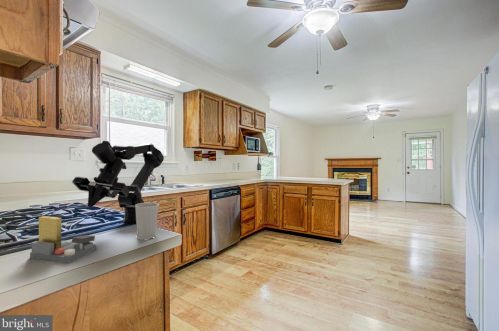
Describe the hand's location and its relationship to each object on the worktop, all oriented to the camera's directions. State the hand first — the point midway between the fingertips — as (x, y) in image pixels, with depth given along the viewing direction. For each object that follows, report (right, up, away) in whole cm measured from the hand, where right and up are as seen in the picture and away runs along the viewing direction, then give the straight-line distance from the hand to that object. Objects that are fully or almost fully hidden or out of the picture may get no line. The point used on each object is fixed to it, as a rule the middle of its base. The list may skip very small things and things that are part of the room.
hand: (89, 207), depth 85 cm
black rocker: (+5, -8, -10) cm, 14 cm away
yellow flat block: (-3, -10, -13) cm, 17 cm away
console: (0, -12, -11) cm, 16 cm away
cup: (+17, -12, +6) cm, 22 cm away
